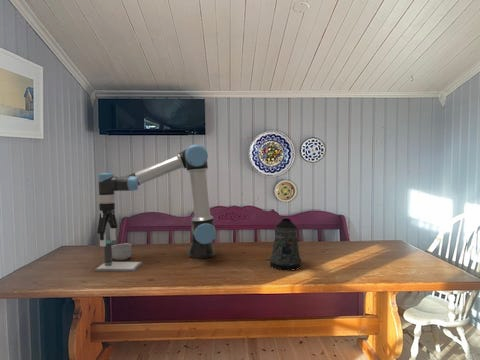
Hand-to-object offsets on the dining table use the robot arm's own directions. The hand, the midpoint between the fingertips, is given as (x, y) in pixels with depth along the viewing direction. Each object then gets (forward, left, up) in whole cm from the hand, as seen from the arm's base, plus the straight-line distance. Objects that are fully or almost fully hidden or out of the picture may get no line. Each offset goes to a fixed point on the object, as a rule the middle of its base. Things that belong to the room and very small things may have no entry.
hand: (108, 243), depth 183 cm
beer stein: (-93, -5, -13) cm, 94 cm away
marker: (0, 0, -12) cm, 11 cm away
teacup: (-2, -17, -13) cm, 21 cm away
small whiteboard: (-6, 0, -13) cm, 14 cm away
